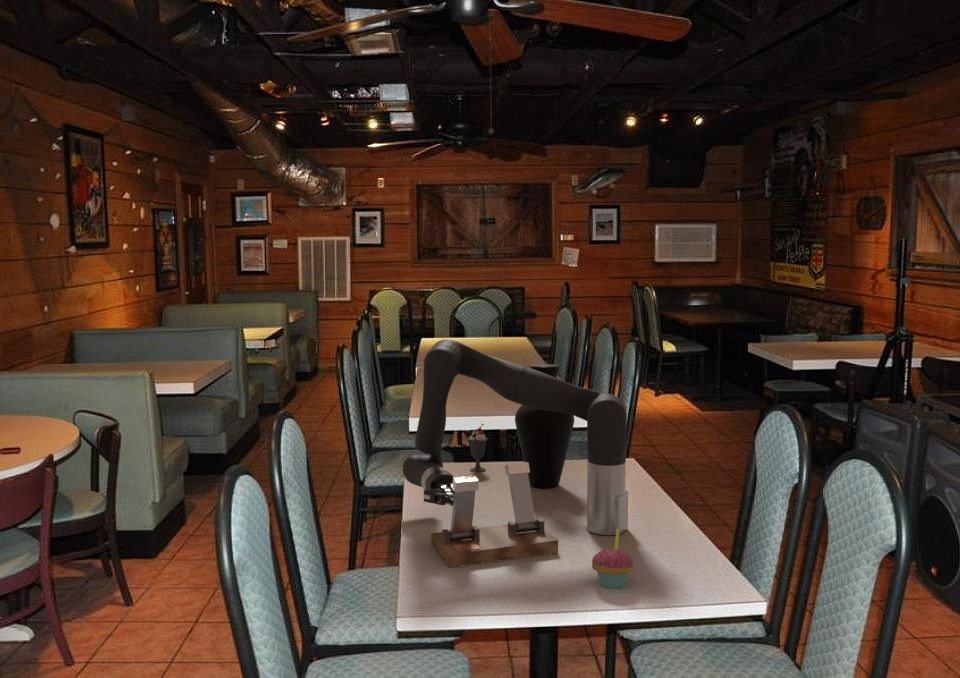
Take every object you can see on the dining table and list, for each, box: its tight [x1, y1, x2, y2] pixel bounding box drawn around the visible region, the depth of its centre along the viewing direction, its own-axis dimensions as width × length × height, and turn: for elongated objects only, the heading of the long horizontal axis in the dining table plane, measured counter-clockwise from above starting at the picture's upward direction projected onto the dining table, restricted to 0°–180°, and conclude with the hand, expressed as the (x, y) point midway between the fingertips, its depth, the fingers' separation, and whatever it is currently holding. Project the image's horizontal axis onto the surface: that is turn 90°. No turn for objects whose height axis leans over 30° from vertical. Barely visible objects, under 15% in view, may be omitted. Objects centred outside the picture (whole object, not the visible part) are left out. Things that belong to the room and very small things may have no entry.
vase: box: [514, 363, 575, 490], centre depth 240 cm, size 17×17×35 cm
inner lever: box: [504, 462, 539, 533], centre depth 196 cm, size 5×2×16 cm, turn 109°
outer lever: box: [448, 474, 480, 541], centre depth 186 cm, size 5×2×16 cm, turn 109°
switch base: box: [430, 517, 559, 568], centre depth 191 cm, size 26×14×6 cm, turn 109°
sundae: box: [466, 423, 490, 473], centre depth 257 cm, size 7×7×15 cm
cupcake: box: [591, 525, 634, 589], centre depth 171 cm, size 9×8×12 cm
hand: (459, 504), depth 186 cm, fingers closed
